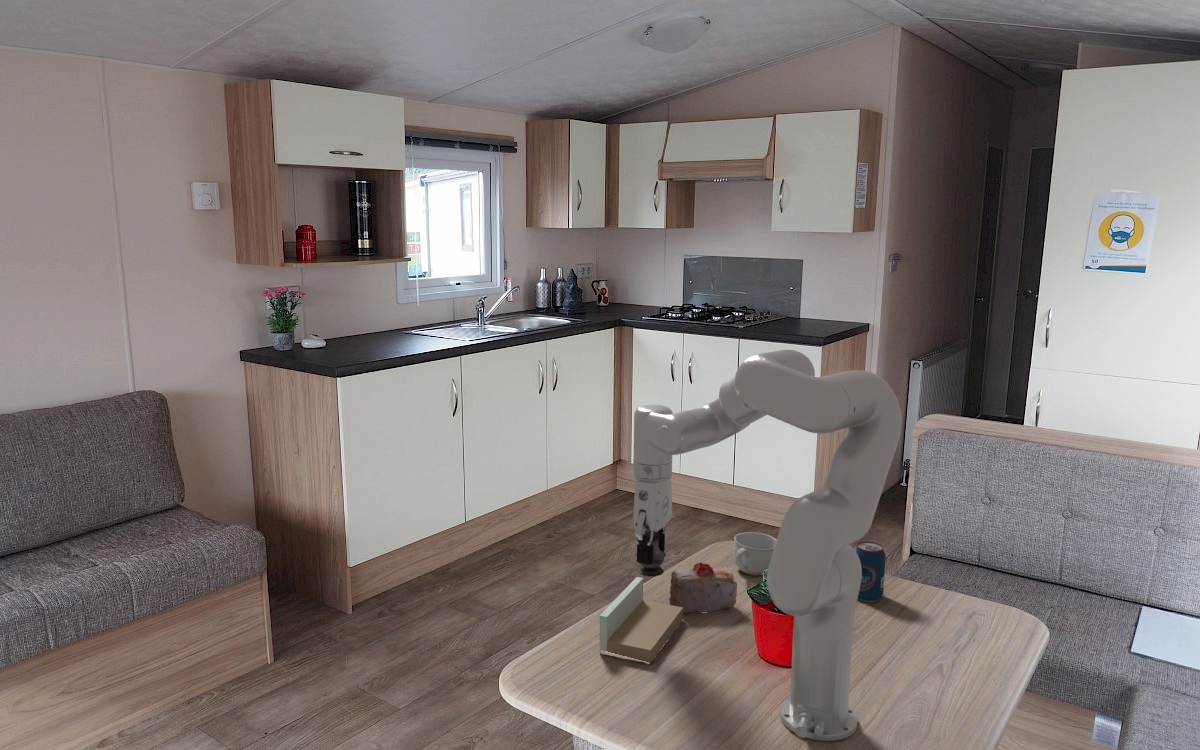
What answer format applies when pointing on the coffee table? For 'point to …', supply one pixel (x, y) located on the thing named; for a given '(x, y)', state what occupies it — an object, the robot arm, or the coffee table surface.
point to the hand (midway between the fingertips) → (650, 556)
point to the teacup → (753, 552)
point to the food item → (703, 588)
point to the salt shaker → (657, 558)
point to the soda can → (871, 570)
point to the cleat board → (637, 624)
